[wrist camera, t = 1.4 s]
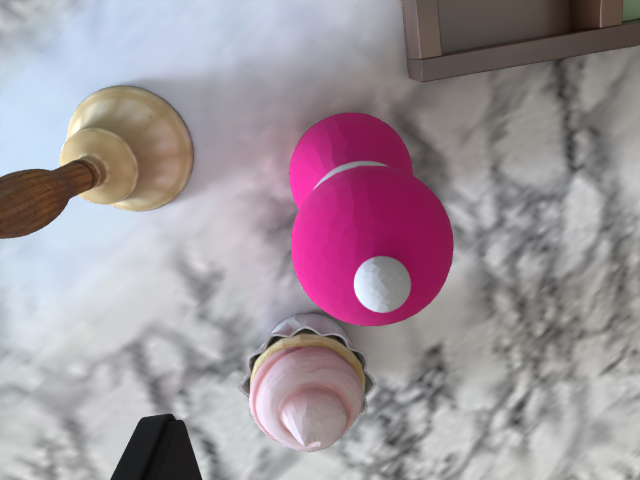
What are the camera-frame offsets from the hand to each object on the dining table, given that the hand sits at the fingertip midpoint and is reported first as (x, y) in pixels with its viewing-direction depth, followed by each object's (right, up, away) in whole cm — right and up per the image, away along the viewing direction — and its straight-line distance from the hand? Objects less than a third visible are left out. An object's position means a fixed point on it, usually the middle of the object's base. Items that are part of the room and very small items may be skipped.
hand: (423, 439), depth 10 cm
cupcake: (-3, -4, +29) cm, 29 cm away
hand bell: (-15, +10, +24) cm, 29 cm away
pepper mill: (0, +9, +24) cm, 26 cm away
